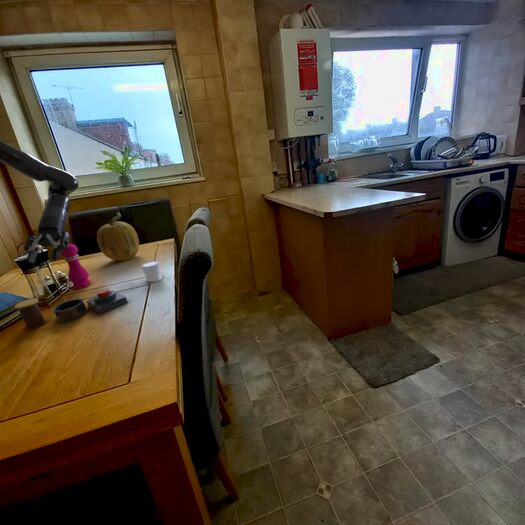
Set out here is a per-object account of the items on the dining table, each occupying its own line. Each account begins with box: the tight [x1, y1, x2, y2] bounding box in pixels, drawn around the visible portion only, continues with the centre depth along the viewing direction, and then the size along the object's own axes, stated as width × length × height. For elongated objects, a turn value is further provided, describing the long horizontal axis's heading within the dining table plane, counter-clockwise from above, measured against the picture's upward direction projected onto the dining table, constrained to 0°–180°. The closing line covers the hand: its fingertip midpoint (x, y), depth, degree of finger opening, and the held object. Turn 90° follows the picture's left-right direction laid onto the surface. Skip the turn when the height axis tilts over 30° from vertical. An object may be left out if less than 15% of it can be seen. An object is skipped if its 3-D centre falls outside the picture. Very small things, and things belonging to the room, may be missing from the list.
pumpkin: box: [96, 212, 140, 262], centre depth 145 cm, size 19×19×25 cm
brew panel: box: [86, 289, 129, 315], centre depth 97 cm, size 9×11×4 cm
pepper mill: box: [60, 243, 92, 290], centre depth 115 cm, size 7×7×20 cm
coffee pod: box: [14, 297, 46, 330], centre depth 88 cm, size 6×6×8 cm
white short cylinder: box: [141, 260, 162, 283], centre depth 114 cm, size 7×7×7 cm
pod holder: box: [52, 298, 88, 323], centre depth 92 cm, size 8×8×4 cm
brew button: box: [97, 288, 110, 298], centre depth 96 cm, size 4×4×2 cm
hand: (42, 261), depth 94 cm, fingers open, 8 cm apart
